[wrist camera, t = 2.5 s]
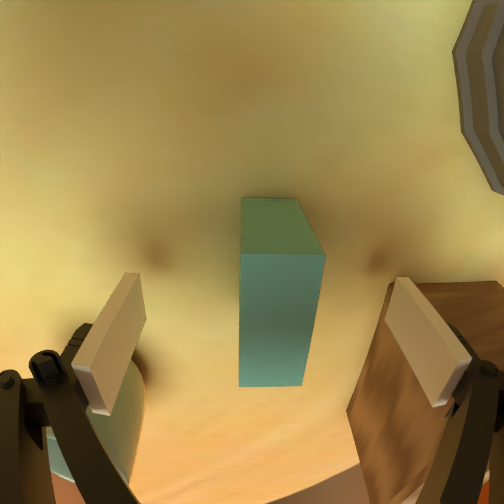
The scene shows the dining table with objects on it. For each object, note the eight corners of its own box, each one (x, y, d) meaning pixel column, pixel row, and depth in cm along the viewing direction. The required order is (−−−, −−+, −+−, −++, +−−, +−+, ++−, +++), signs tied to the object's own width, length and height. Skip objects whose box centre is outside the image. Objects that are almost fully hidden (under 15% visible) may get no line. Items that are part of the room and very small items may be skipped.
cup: (135, 323, 21) (91, 442, 12) (166, 394, 24) (147, 498, 16) (52, 327, 21) (-4, 421, 12) (90, 392, 25) (57, 480, 16)
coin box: (389, 284, 20) (476, 426, 9) (497, 280, 21) (583, 373, 10) (346, 411, 26) (375, 523, 16) (441, 394, 27) (484, 483, 16)
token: (241, 197, 18) (240, 253, 11) (296, 198, 18) (325, 255, 11) (239, 303, 21) (238, 386, 14) (285, 304, 21) (301, 385, 14)
